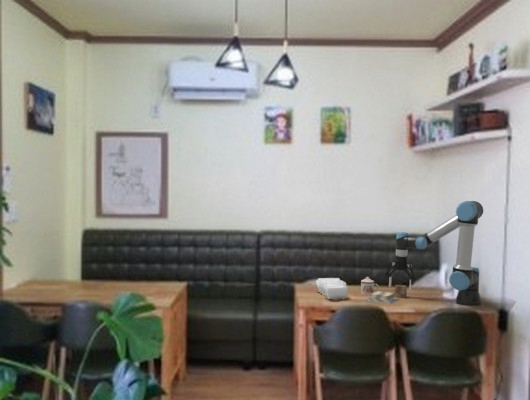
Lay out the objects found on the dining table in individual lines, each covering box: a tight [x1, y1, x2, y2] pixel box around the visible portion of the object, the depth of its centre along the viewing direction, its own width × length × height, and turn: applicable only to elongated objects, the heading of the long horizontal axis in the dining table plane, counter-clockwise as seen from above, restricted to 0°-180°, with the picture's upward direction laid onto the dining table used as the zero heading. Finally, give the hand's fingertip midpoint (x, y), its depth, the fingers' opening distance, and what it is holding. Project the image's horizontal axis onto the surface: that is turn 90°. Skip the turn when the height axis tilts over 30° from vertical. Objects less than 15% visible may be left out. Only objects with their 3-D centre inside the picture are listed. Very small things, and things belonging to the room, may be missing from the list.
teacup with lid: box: [360, 276, 380, 296], centre depth 371 cm, size 12×9×12 cm
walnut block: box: [394, 284, 408, 299], centre depth 361 cm, size 6×6×8 cm
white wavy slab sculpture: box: [315, 277, 349, 300], centre depth 363 cm, size 35×16×11 cm, turn 5°
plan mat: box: [364, 297, 401, 304], centre depth 351 cm, size 18×16×1 cm
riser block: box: [369, 290, 396, 304], centre depth 351 cm, size 12×12×4 cm
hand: (400, 288), depth 361 cm, fingers open, 13 cm apart
